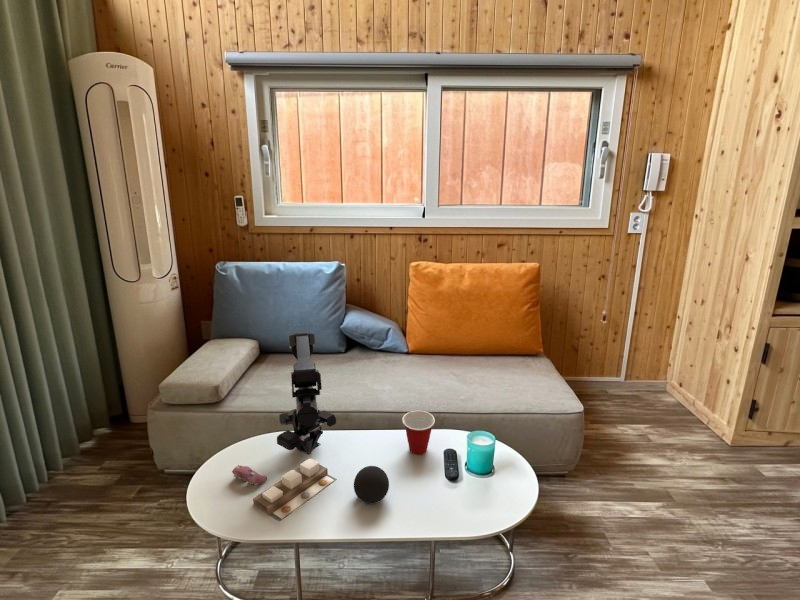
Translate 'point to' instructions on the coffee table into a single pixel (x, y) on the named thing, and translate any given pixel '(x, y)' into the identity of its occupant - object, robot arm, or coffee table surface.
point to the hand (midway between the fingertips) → (308, 454)
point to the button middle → (291, 479)
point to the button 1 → (272, 494)
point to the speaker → (371, 484)
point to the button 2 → (309, 467)
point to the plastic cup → (418, 430)
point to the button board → (295, 494)
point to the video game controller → (249, 475)
